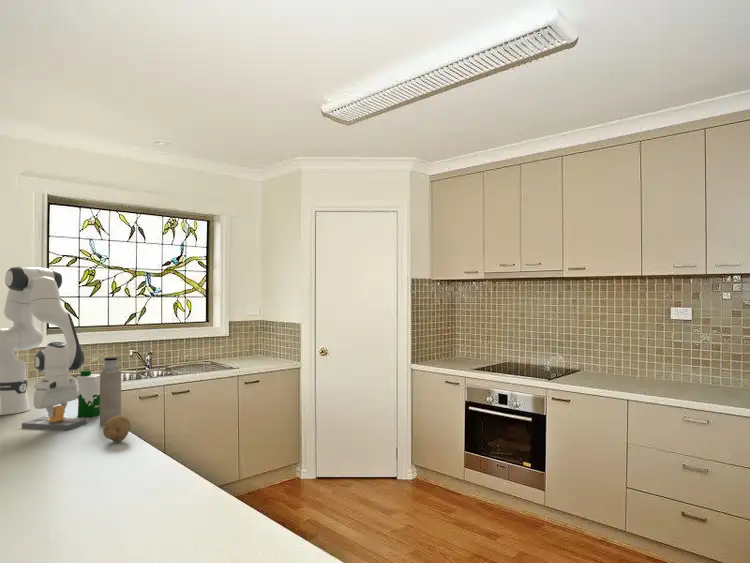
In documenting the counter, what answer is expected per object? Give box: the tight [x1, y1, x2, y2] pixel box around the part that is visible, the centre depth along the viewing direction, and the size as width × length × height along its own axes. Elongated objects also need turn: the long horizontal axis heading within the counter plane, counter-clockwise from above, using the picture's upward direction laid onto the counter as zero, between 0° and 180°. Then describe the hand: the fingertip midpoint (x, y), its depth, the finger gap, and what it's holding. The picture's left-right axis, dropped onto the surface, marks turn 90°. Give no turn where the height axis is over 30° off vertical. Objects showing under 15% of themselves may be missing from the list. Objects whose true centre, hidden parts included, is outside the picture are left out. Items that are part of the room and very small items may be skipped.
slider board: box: [21, 416, 88, 432], centre depth 217 cm, size 21×11×2 cm, turn 80°
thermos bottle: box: [99, 356, 122, 427], centre depth 221 cm, size 8×8×28 cm
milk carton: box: [76, 369, 100, 418], centre depth 236 cm, size 9×9×20 cm
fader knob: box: [48, 404, 66, 422], centre depth 217 cm, size 4×5×6 cm
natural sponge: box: [103, 415, 132, 444], centre depth 194 cm, size 9×9×10 cm
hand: (56, 415), depth 217 cm, fingers closed on fader knob, 4 cm apart
